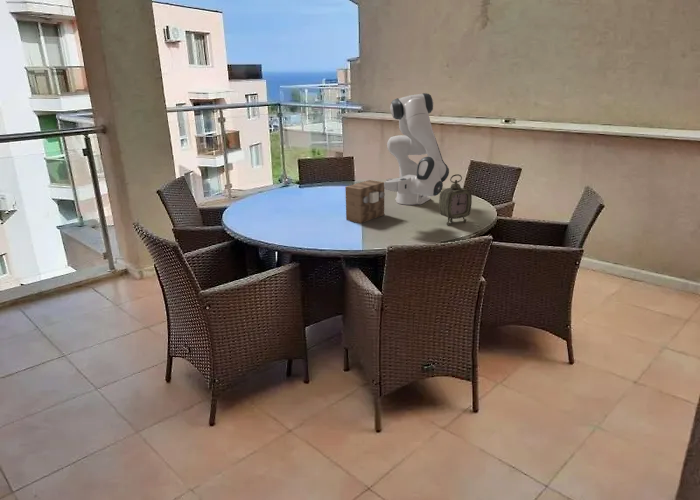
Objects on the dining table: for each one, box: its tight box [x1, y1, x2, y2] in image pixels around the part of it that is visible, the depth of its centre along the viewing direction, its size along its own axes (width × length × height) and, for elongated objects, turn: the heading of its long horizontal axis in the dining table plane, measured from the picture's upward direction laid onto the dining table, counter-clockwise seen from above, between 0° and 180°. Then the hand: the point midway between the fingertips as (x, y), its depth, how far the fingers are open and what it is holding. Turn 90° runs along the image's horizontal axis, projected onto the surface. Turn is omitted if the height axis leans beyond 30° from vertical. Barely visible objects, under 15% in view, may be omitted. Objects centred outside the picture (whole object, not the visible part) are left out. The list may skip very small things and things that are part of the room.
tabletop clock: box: [438, 174, 473, 226], centre depth 244 cm, size 14×9×25 cm, turn 115°
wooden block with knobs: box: [345, 179, 386, 224], centre depth 257 cm, size 20×12×18 cm, turn 138°
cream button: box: [369, 191, 379, 203], centre depth 254 cm, size 5×4×5 cm
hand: (388, 180), depth 244 cm, fingers closed
